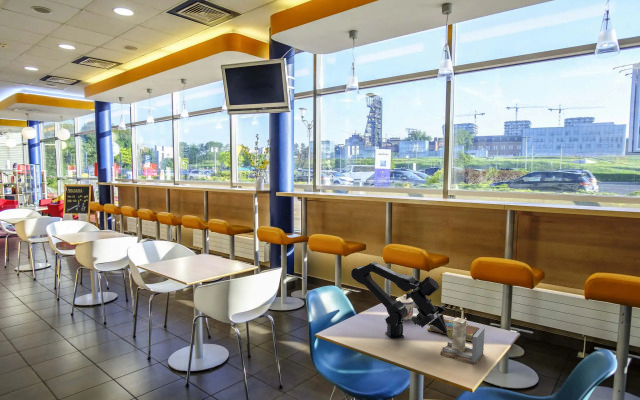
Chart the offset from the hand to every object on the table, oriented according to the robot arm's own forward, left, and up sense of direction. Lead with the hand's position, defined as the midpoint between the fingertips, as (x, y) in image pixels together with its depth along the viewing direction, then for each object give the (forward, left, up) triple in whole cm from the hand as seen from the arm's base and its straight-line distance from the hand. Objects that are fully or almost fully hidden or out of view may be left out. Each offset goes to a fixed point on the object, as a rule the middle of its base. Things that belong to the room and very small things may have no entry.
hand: (446, 332), depth 168 cm
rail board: (+4, -6, -7) cm, 10 cm away
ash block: (+3, -4, -6) cm, 8 cm away
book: (+15, +16, -8) cm, 24 cm away
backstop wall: (+7, -11, -6) cm, 15 cm away
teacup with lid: (+5, +40, -8) cm, 41 cm away
